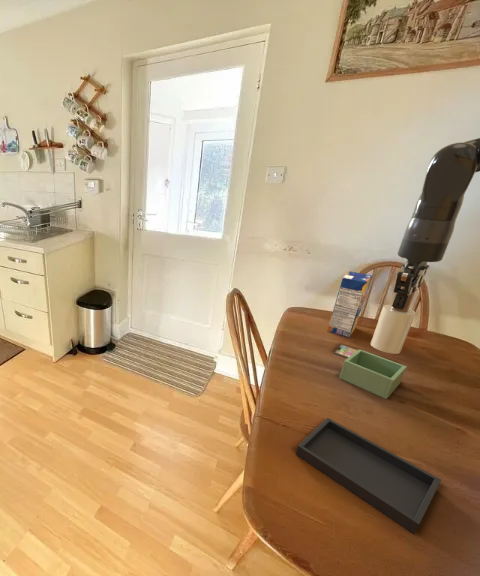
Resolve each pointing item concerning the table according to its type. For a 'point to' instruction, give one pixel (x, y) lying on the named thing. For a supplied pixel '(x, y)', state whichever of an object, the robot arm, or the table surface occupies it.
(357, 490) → the tray
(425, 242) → the robot arm
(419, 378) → the table surface
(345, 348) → the smartphone
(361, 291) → the beverage box
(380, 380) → the bin
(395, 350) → the bottle
